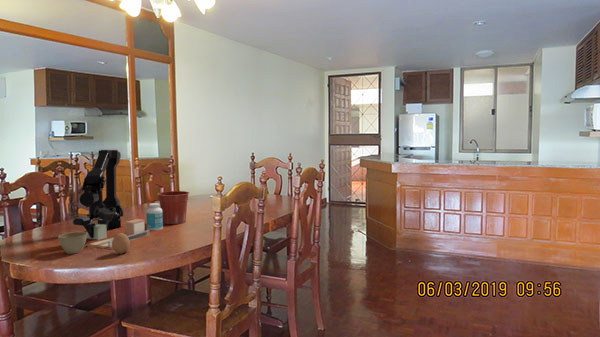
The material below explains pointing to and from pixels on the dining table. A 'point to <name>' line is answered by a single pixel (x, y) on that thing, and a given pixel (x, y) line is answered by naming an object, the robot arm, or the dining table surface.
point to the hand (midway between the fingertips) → (96, 236)
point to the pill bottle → (154, 217)
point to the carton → (134, 226)
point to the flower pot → (173, 206)
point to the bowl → (73, 241)
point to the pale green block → (99, 232)
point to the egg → (120, 243)
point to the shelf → (109, 241)
